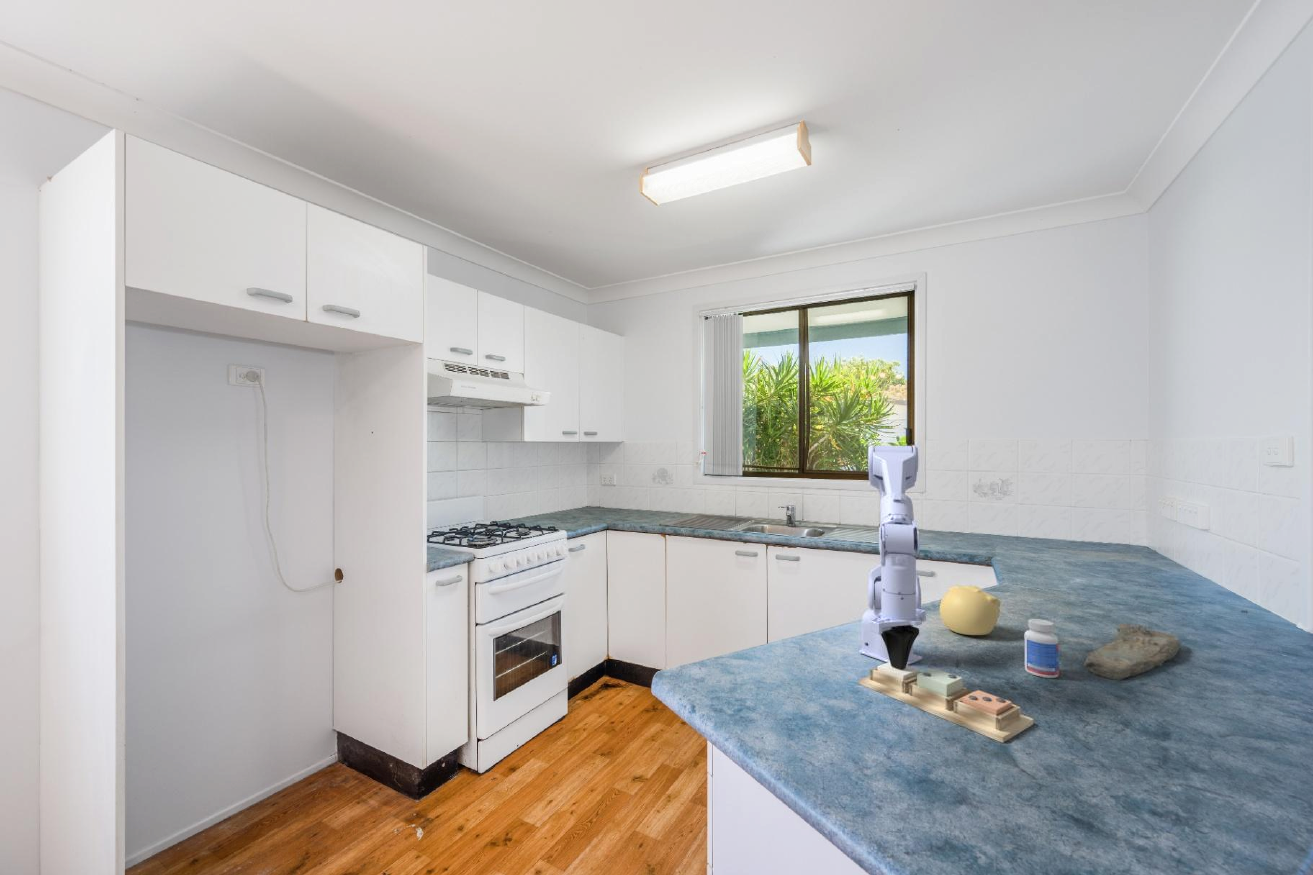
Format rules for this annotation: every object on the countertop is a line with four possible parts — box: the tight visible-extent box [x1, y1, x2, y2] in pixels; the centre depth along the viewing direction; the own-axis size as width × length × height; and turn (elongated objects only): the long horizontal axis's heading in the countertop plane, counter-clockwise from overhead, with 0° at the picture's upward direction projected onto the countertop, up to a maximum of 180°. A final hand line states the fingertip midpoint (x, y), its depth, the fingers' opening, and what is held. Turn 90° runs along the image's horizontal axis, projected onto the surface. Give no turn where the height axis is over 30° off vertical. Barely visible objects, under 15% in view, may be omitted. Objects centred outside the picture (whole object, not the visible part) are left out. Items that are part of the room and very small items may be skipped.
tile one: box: [876, 662, 920, 681], centre depth 99 cm, size 5×5×3 cm
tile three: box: [962, 689, 1013, 716], centre depth 86 cm, size 5×5×3 cm
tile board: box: [858, 666, 1034, 744], centre depth 93 cm, size 24×10×3 cm, turn 34°
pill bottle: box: [1023, 618, 1060, 679], centre depth 106 cm, size 6×5×10 cm
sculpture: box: [939, 584, 1001, 636], centre depth 130 cm, size 11×12×11 cm
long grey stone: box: [1083, 622, 1182, 681], centre depth 114 cm, size 35×5×10 cm
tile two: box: [917, 667, 963, 697], centre depth 93 cm, size 5×5×3 cm
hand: (898, 667), depth 99 cm, fingers closed, pressing on tile one
